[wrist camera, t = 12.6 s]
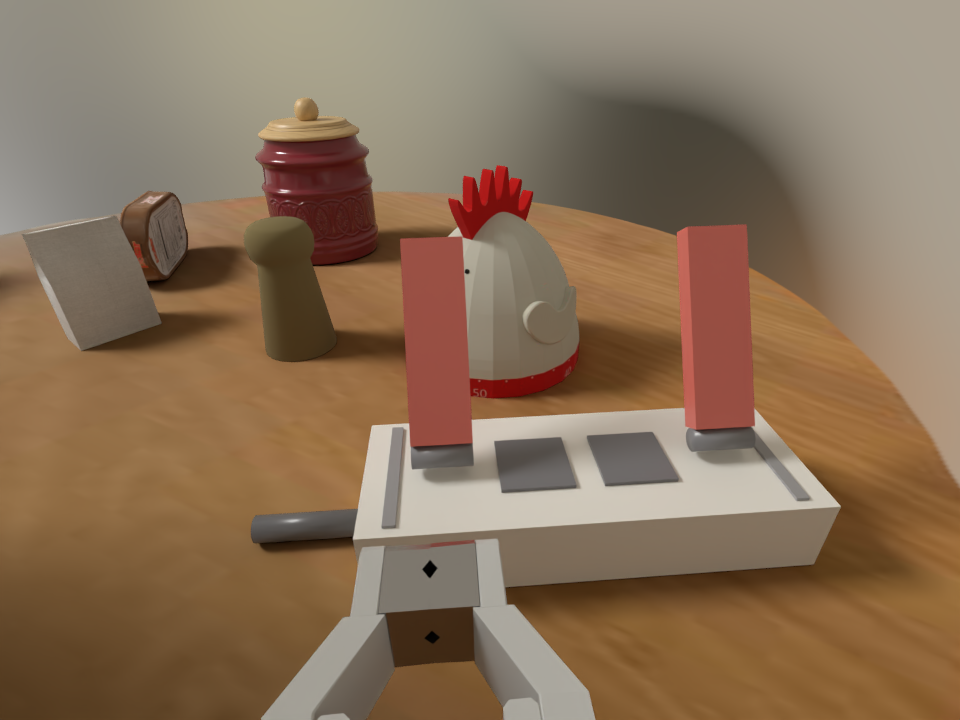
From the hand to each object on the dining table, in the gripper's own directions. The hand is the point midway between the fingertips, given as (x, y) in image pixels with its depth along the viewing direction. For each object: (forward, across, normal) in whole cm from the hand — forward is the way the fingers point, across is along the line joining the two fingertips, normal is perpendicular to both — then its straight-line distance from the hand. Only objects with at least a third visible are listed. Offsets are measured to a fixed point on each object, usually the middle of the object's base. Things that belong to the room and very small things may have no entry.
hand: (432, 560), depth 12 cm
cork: (+34, -12, -13) cm, 38 cm away
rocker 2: (+12, +14, -7) cm, 20 cm away
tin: (+55, -33, -13) cm, 65 cm away
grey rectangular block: (+38, -30, -13) cm, 50 cm away
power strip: (+12, +4, -12) cm, 18 cm away
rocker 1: (+12, 0, -7) cm, 14 cm away
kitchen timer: (+31, +4, -13) cm, 34 cm away
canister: (+59, -14, -13) cm, 62 cm away
